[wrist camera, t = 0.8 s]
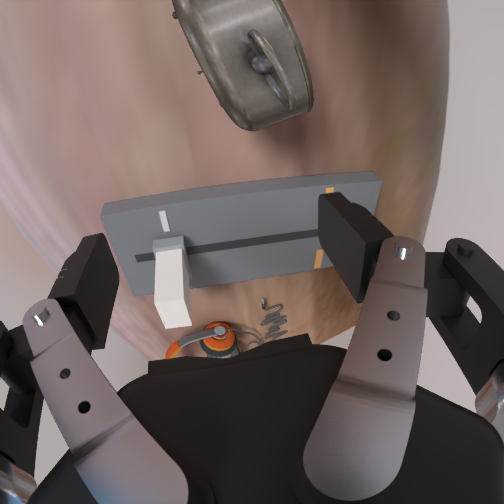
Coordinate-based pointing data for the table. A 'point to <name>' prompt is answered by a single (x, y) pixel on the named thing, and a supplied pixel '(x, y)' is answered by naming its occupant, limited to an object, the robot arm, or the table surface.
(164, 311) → the fader
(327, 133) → the table surface
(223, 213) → the console
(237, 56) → the alarm clock
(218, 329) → the headphones
